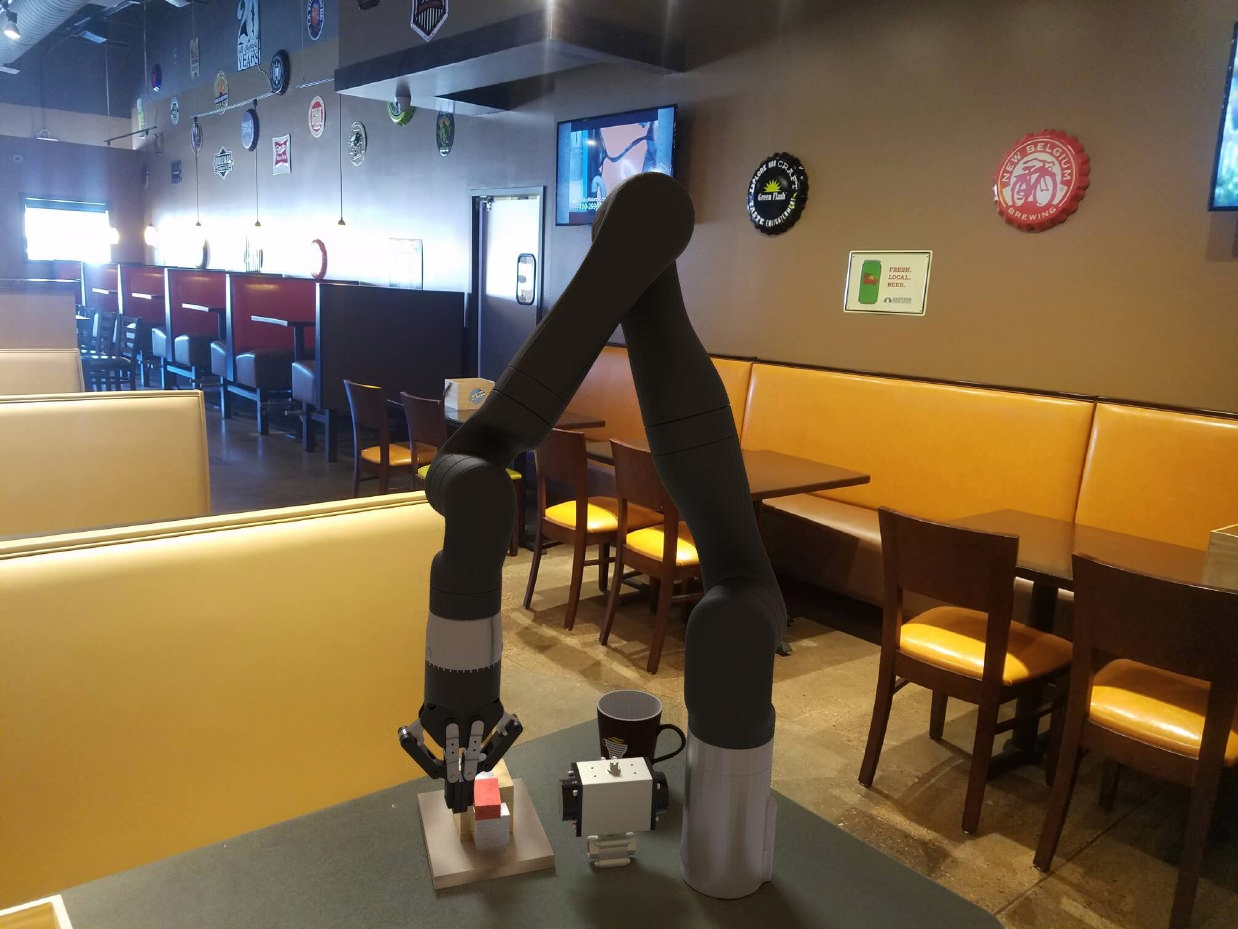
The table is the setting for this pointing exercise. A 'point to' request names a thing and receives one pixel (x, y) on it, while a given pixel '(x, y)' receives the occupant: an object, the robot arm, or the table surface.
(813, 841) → the table surface
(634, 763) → the pneumatic valve
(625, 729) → the coffee mug
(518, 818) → the mounting board
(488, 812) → the lever
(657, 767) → the table surface
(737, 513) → the robot arm
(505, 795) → the valve
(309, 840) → the table surface
